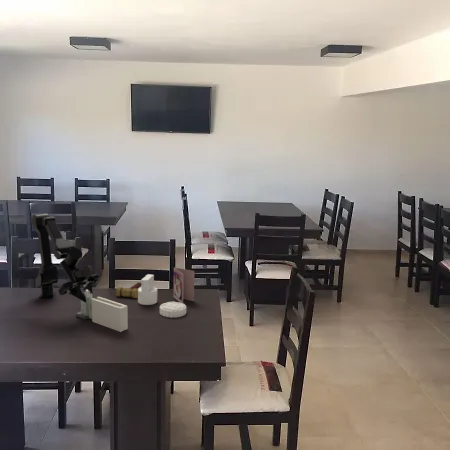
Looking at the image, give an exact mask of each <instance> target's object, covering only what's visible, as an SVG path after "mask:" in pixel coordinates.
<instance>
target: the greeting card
mask: <svg viewBox="0 0 450 450" xmlns="http://www.w3.org/2000/svg"><path fill="white" fill-rule="evenodd" d="M172 273H173V298H174V299H176V301H178V302H180V303H183V304H184V300H186V301H191V302H195V270H191V269H186V268H185V269H184V268H180V267H173V271H172Z"/></svg>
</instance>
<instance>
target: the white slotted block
mask: <svg viewBox="0 0 450 450" xmlns="http://www.w3.org/2000/svg"><path fill="white" fill-rule="evenodd" d="M97 299H98V300H97ZM100 300H101V301H100ZM103 301H104V302H103ZM106 302H107V303H106ZM109 303H110V304H109ZM128 311H129V310H128V305H126V304H123V303H119V302H117V301H113V300H110V299H108V298H105V297H101V296H96V298H95V299H92V319H91V321H92V323H96V324H98V325H101V326H103V327H107V328H108V329H112V330H114V331H117V332H120V333H122V332H123V331H126V330H128V325H129V324H128V322H129V321H128V317H129V316H128Z"/></svg>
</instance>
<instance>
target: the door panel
mask: <svg viewBox="0 0 450 450" xmlns="http://www.w3.org/2000/svg"><path fill="white" fill-rule="evenodd" d="M92 299H97V298H95V297H94V298H92V297H89V298H88V311H89V318H88V319H91V320H92ZM97 300H98V299H97ZM100 301H101V300H100ZM103 302H104V301H103ZM106 303H107V302H106ZM109 304H110V303H109Z"/></svg>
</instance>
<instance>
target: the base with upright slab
mask: <svg viewBox="0 0 450 450" xmlns="http://www.w3.org/2000/svg"><path fill="white" fill-rule="evenodd" d="M154 278H155V275H154V274H149V273H148V274H146V275H145V276H144V277H143V278H141V280H140V281H141V282H140V283H141V287H139V288H138V297H137V303H138V304H140V305H144V306H145V305H146V306H149V305H156V303H158V288H157V287H155V279H154Z"/></svg>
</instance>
